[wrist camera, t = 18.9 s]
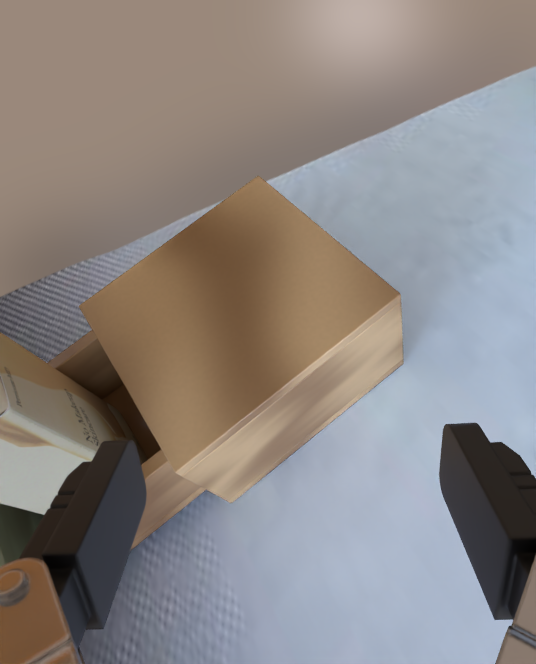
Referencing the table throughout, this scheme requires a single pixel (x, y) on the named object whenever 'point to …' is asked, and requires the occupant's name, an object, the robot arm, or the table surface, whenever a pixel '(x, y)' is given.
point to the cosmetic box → (47, 428)
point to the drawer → (161, 481)
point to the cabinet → (246, 337)
